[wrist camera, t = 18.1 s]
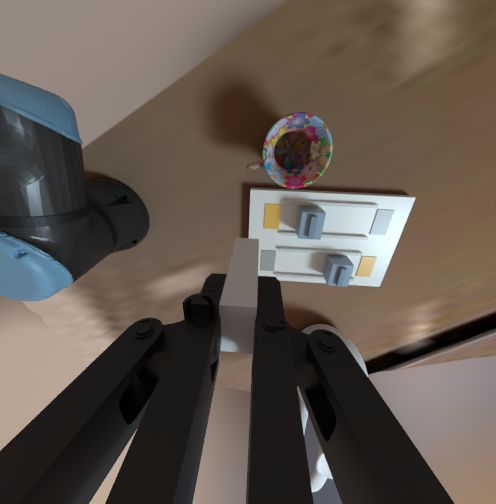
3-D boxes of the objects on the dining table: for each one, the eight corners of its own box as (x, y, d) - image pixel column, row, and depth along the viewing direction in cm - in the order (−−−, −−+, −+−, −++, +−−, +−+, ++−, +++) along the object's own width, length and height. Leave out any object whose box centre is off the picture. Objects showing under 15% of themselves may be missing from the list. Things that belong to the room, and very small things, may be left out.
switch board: (247, 273, 50) (246, 280, 48) (251, 187, 41) (250, 190, 39) (375, 281, 49) (381, 288, 47) (408, 195, 40) (418, 198, 38)
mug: (309, 110, 35) (327, 99, 25) (318, 168, 39) (337, 177, 29) (241, 136, 37) (233, 135, 28) (256, 188, 41) (254, 202, 32)
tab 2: (322, 274, 47) (328, 287, 42) (327, 254, 44) (334, 266, 40) (340, 275, 46) (348, 289, 42) (346, 255, 44) (355, 267, 40)
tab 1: (295, 230, 42) (299, 240, 38) (298, 205, 40) (303, 213, 36) (315, 231, 42) (321, 241, 38) (320, 206, 40) (327, 214, 36)
